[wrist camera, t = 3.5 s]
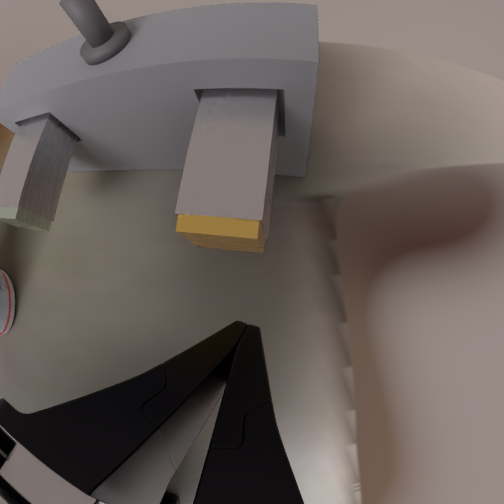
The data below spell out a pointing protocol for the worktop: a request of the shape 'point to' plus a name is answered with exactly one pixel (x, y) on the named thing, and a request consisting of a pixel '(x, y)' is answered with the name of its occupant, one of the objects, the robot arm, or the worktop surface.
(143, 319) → the worktop surface
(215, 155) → the mustard button
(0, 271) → the pill bottle
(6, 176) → the green button
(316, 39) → the switch panel
